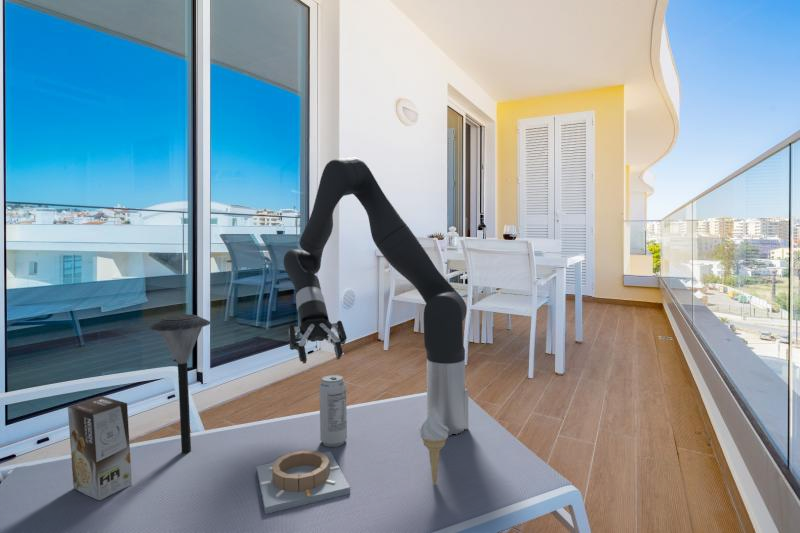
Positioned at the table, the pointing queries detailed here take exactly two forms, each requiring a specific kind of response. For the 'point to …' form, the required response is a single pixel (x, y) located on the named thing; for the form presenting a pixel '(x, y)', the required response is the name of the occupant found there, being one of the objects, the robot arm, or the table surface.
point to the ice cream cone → (434, 439)
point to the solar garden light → (182, 359)
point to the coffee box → (100, 446)
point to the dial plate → (300, 480)
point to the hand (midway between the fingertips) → (322, 359)
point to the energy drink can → (333, 410)
